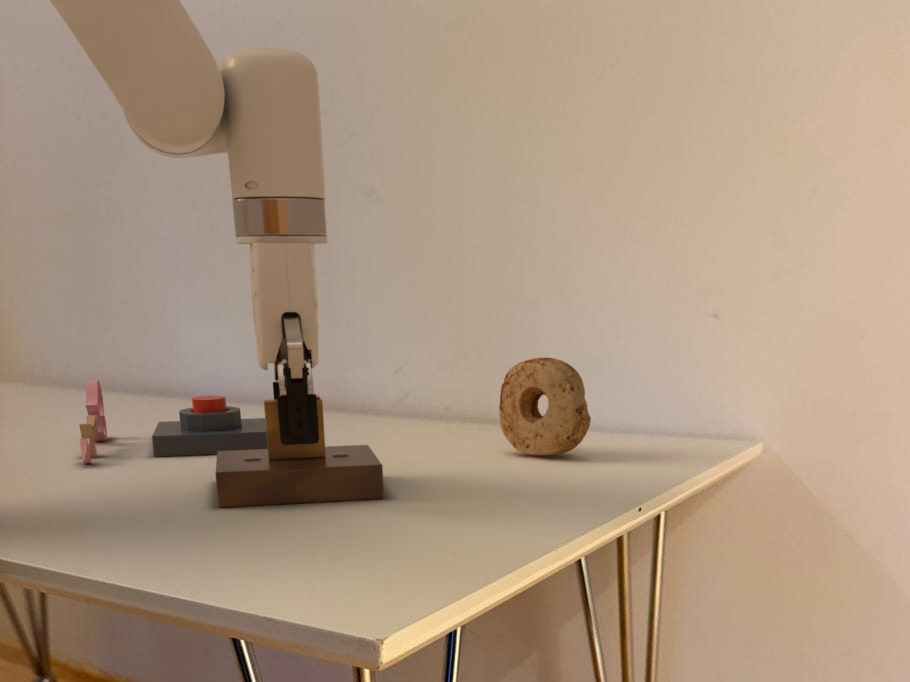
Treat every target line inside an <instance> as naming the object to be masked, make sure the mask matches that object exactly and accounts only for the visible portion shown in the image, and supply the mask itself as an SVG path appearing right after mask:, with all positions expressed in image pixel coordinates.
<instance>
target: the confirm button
mask: <svg viewBox="0 0 910 682" xmlns="http://www.w3.org/2000/svg"><path fill="white" fill-rule="evenodd" d="M226 399H227V398H226V396H224V395H216V394H215V395H211V394H209V395H198V396H193V397H191V404H192V408H193V412H194V413H216V412H225V411H227V407H226V406H227V400H226Z"/></svg>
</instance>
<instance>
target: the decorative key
mask: <svg viewBox="0 0 910 682" xmlns="http://www.w3.org/2000/svg"><path fill="white" fill-rule="evenodd" d="M85 408H86V412H87V415H86V416H85V417H86V419H85V420H86V423H79V424H78V425H79V430H80V435H81V438H79V445H80V453H81V459H82V463H83V464H84V465H92V459H97V458H98V454H97V447H96V442H107V440H108V429H107V421H106V417H105V407H104V398H103V391H102V386H101V383H100V380H86V382H85Z"/></svg>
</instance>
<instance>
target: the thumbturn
mask: <svg viewBox="0 0 910 682" xmlns="http://www.w3.org/2000/svg"><path fill="white" fill-rule="evenodd" d="M316 397H317V412H318V427H319V442H318V443H316V444H298V445H283V444H282V443H281V440H280V429H279V417H278V404H277V400H274V399H263V407H264V408H263V409H264V418H265V423H266V435H267V447H268V458H269V459H291V458H314V457H325V456H326V453H325V447H326V439H325V437H326V436H325V424H324V421H325V420H324V405H323V404H324V403H323V399H322V397H320V395H316Z"/></svg>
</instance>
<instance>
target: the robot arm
mask: <svg viewBox="0 0 910 682" xmlns="http://www.w3.org/2000/svg"><path fill="white" fill-rule="evenodd" d="M49 1H50V3H51V4H52V6H53V7H54V9H55V10H56V12H58V15H60V17H61V18H62V20H63V21H64V23H65V24H66V26H67V27H68V28H69V30H70V32H71V33H72V34H73V36H74V38H75V40H77V42H78V43H79V45H80V46H81V48H82V49H83V50H84V52H85V54H86V56H87V57H88V58H89V60H90V62H91V64H93V66H94V67H95V69H96V71H97V72H98V73H99V75H100V76H101V78H102V80H103V81H104V83H105V85H106V86H107V87H108V88H109V91H110V92H111V93H112V95H113V96H114V97H115V99H116V101H117V103H118V104H119V106H120V107H121V109H122V111H123V114H124V117H125V119H126V122H127V124H128V126H129V128H130V130H131V131H132V133H133V134H134V136H135V137H136V138H137V139H138V140H139V141H140V143H142V144H143V145H144V146H145V147H146V148H148V149H149V150H150V151H153V152H154V153H155V154H157V155H161V156H163V157H167V158H173V159H187V158H196V157H202V156H208V155H216V154H227V157H228V167H229V178H230V179H229V180H230V190H231V199H232V201H231V203H232V213H233V223H234V224H233V225H234V234H235V244H236V245H249V273H250V275H249V276H250V291H251V302H252V313H253V315H252V316H253V323H254V335H255V346H256V347H255V348H256V357H257V364H258V366H259V367H260V368H261V369H262V370H263V371H268V370H269V369H268V367H269V366H268V364H273V372H274V373H273V374H274V381H272V390H273V391H272V392H273V400H277V404H278V417H279V429H280V440H281V443H282V444H283V445H298V444H316V443H318V442H319V427H318V412H317V397H316V396H317V393H315V391H314V390H315V389H314V379H313V370H312V369H314V368H315V367H316V366H317V365H318V364H319V308H318V305H319V304H318V288H317V287H318V286H317V272H316V271H317V269H316V268H317V267H316V256H315V255H316V254H315V244H319V245H320V244H329V236H328V235H329V234H328V219H327V218H328V217H327V216H328V215H327V202H326V201H327V200H326V188H325V186H326V183H325V182H326V181H325V168H324V167H325V165H324V150H323V134H322V119H321V117H322V116H321V115H322V114H321V99H320V85H319V75H318V71H317V69H316V67H315V66H316V65H315V64H314V63H313V61H312V60H311V59H310V58H309V57H308V56H307V55H305V54H302V53H301V52H298V51H294V50H289V49H283V48H269V47H268V48H266V47H261V48H259V47H257V48H246V49H240V50H237V51H234V52H231V53H230V54H229V55H228V56H226V57H225V59H224V60H216V59H215V57H214V55H213V53H212V52H211V49H210V48H209V46H208V44H207V43H206V41H205V39H204V38H203V36H202V34H201V33H200V31H199V30H198V28H197V26H196V24H195V23H194V21H193V20H192V18H191V16H190V15H189V13H188V11H187V10H186V9H185V6H184V4H183V3H182V1H181V0H49Z"/></svg>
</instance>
